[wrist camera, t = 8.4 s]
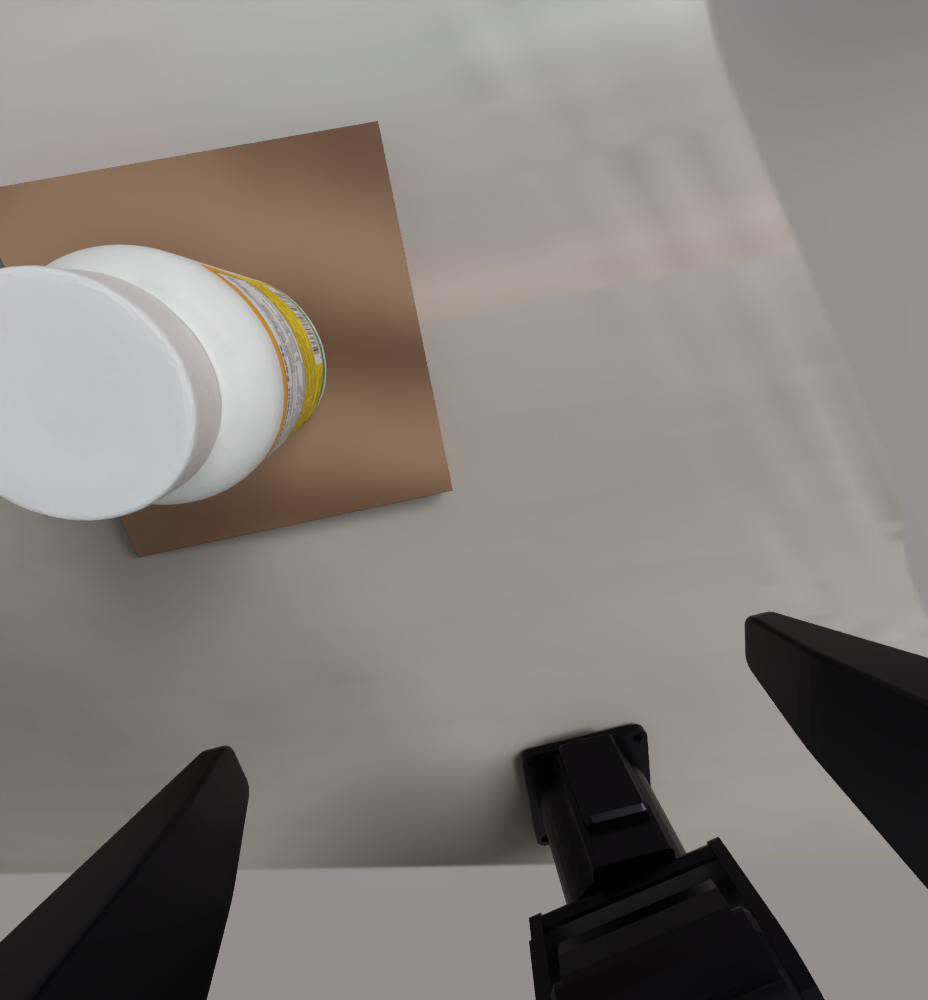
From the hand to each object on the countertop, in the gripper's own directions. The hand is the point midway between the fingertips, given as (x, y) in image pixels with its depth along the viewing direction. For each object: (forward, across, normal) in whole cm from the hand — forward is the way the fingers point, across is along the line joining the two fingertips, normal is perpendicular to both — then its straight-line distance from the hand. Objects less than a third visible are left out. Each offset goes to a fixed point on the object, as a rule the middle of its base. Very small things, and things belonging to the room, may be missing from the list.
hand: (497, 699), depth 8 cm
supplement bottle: (+11, +6, -6) cm, 14 cm away
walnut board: (+12, +6, -6) cm, 15 cm away
